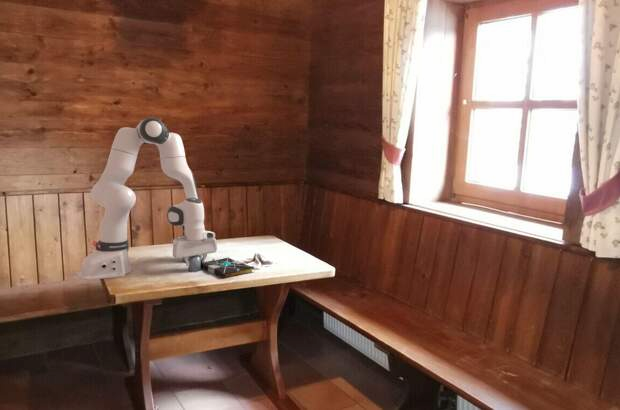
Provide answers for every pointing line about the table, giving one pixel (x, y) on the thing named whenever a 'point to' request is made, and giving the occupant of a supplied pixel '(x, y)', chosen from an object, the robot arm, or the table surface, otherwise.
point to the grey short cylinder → (194, 263)
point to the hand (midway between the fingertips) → (195, 264)
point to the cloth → (258, 261)
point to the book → (226, 267)
